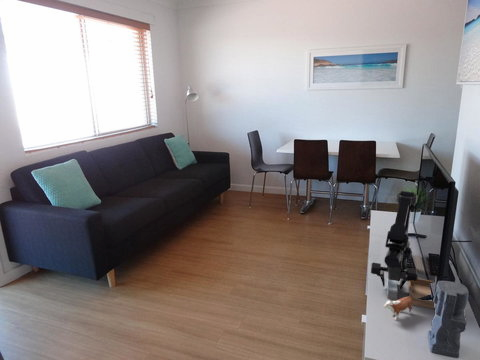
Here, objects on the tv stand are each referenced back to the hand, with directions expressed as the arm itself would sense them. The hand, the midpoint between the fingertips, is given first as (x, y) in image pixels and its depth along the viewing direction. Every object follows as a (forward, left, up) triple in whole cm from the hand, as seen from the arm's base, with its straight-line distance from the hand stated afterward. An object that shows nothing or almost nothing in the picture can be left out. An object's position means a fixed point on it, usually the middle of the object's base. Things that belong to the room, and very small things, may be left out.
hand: (391, 287), depth 158 cm
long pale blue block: (0, 0, -1) cm, 1 cm away
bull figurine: (+18, +2, -1) cm, 18 cm away
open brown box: (0, +13, -1) cm, 13 cm away
